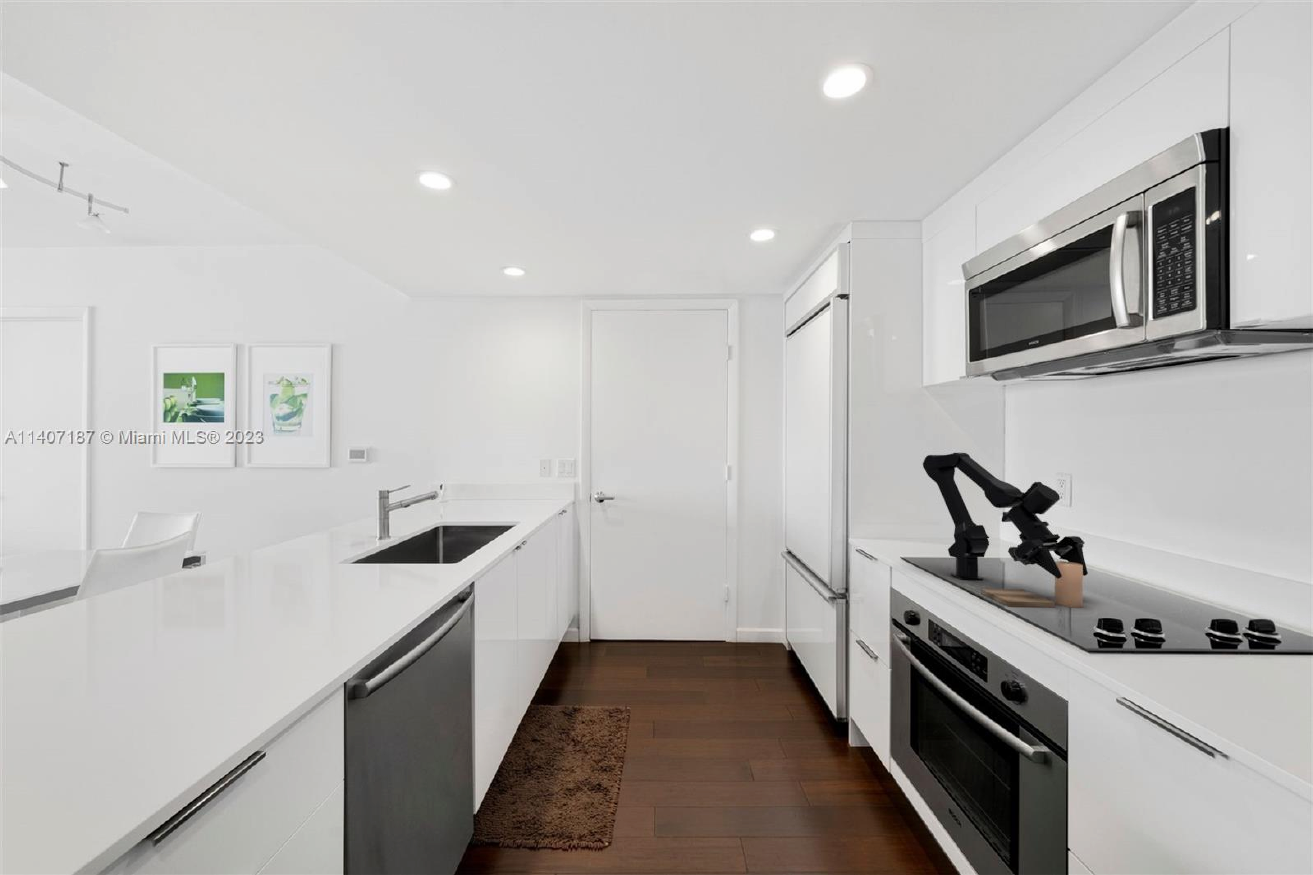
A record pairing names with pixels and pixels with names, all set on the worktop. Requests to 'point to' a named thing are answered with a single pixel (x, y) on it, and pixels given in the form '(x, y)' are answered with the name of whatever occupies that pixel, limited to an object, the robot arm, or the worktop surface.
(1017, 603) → the walnut board
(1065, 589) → the terracotta canister
